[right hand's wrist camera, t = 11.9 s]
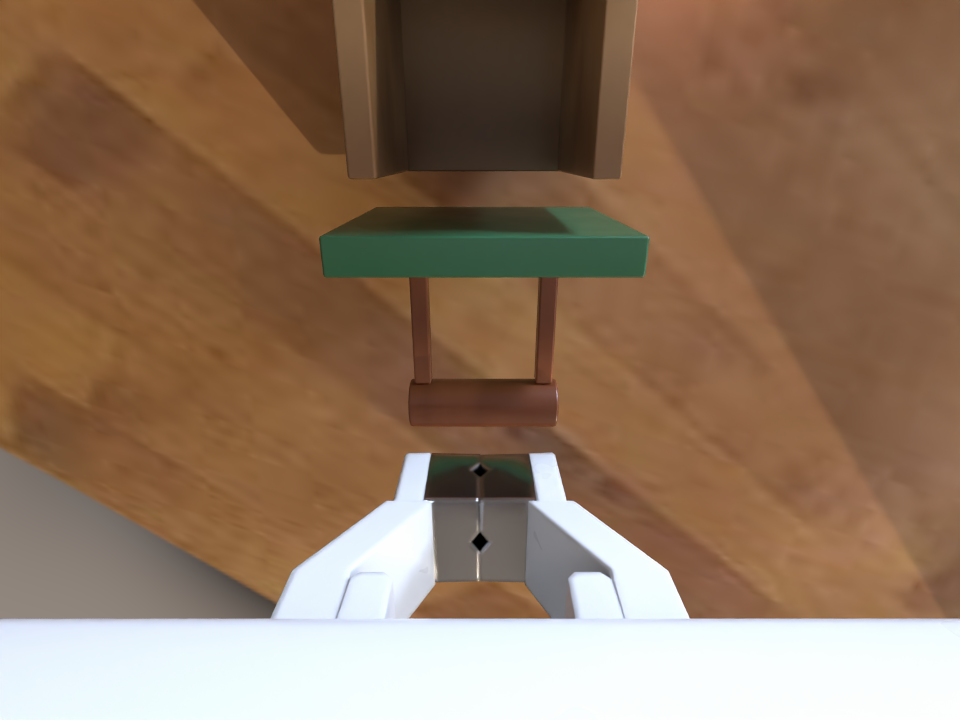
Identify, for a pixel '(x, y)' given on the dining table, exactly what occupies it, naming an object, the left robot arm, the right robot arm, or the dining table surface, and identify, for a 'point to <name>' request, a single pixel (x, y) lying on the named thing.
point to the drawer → (484, 164)
